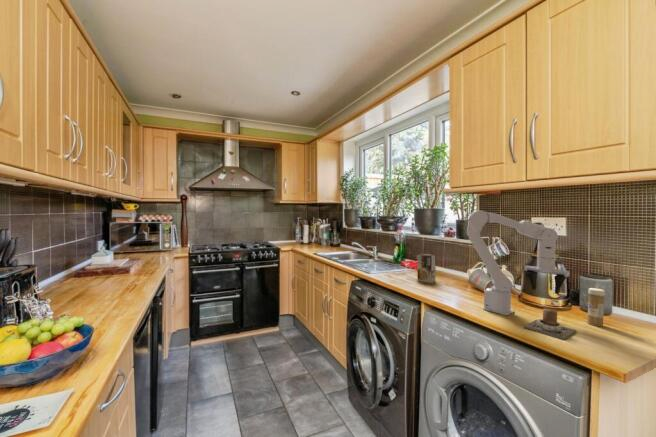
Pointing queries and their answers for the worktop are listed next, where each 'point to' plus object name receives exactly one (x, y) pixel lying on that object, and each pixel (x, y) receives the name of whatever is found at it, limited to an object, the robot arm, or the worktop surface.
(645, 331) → the worktop surface
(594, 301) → the sprinkles bottle
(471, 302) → the worktop surface
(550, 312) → the walnut peg
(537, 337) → the worktop surface
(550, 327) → the cup bracket
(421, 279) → the coffee box
